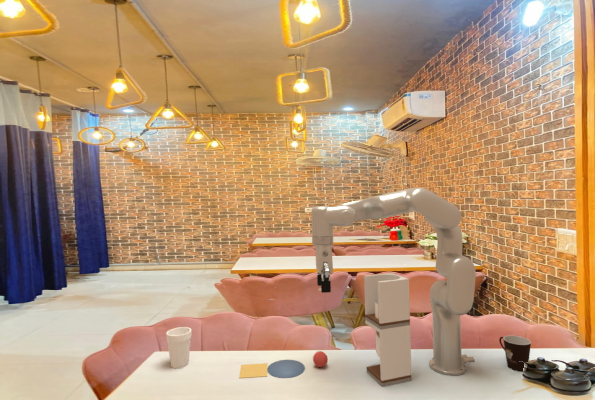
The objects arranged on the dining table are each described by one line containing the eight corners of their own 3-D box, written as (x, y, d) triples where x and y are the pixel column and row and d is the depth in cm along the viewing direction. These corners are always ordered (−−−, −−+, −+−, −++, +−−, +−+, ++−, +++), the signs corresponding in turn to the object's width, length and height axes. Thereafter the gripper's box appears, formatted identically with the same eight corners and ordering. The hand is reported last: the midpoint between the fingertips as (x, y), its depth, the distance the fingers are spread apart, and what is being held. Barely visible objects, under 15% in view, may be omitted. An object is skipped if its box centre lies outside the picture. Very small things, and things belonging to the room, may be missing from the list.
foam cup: (197, 361, 143) (196, 328, 143) (180, 372, 135) (179, 337, 135) (179, 357, 147) (178, 325, 147) (161, 367, 139) (160, 333, 139)
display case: (394, 367, 134) (391, 272, 134) (411, 380, 124) (408, 278, 124) (366, 372, 131) (364, 275, 130) (382, 386, 121) (379, 282, 120)
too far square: (267, 363, 140) (267, 363, 140) (267, 376, 130) (267, 375, 130) (241, 365, 139) (241, 364, 139) (239, 378, 129) (239, 377, 129)
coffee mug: (535, 374, 126) (535, 345, 126) (508, 372, 128) (508, 344, 128) (522, 359, 138) (521, 333, 138) (497, 357, 139) (497, 331, 139)
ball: (326, 362, 139) (326, 348, 139) (329, 369, 134) (328, 354, 134) (312, 363, 139) (312, 349, 139) (314, 370, 133) (313, 355, 133)
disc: (303, 359, 143) (302, 358, 143) (306, 376, 129) (306, 376, 129) (267, 361, 142) (267, 360, 142) (267, 379, 128) (267, 378, 128)
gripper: (337, 243, 121) (338, 294, 121) (329, 237, 138) (330, 282, 138) (315, 244, 120) (316, 295, 120) (309, 238, 137) (310, 283, 138)
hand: (323, 288), depth 129 cm, fingers open, 9 cm apart
